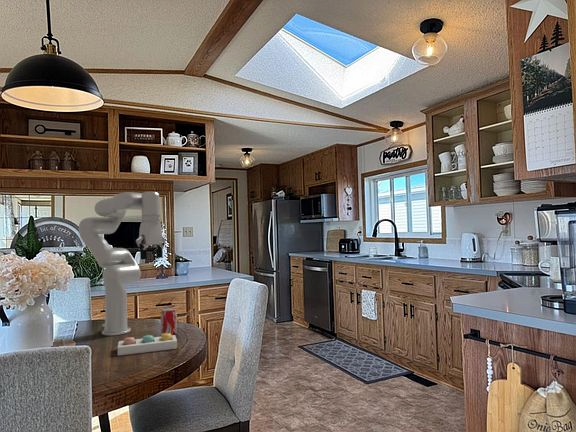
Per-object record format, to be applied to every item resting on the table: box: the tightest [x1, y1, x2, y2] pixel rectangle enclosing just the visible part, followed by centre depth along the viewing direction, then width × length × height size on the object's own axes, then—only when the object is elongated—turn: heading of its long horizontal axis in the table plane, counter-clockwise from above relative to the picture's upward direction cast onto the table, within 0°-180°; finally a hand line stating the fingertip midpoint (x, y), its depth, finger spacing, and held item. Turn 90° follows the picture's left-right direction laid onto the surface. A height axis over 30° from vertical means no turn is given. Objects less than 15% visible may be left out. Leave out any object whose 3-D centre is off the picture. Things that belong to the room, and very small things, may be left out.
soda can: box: [160, 307, 178, 336], centre depth 180 cm, size 7×7×12 cm
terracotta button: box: [123, 336, 135, 345], centre depth 159 cm, size 4×4×3 cm
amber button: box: [160, 333, 171, 341], centre depth 164 cm, size 4×4×3 cm
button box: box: [117, 335, 178, 356], centre depth 161 cm, size 22×10×3 cm, turn 110°
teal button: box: [142, 334, 154, 343], centre depth 161 cm, size 4×4×3 cm
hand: (151, 258), depth 177 cm, fingers open, 9 cm apart
